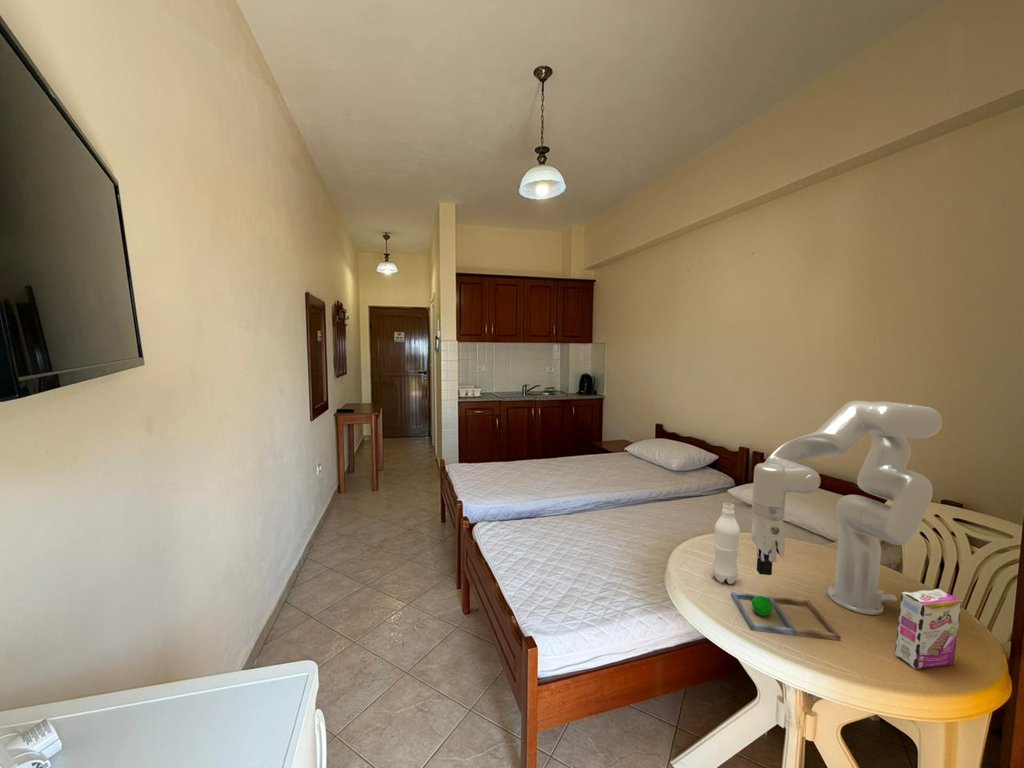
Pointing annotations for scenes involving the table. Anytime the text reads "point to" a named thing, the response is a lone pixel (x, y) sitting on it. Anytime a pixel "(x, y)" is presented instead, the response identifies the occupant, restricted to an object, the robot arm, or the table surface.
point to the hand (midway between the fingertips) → (764, 573)
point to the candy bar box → (927, 628)
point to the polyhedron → (762, 605)
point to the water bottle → (726, 546)
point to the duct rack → (789, 627)
